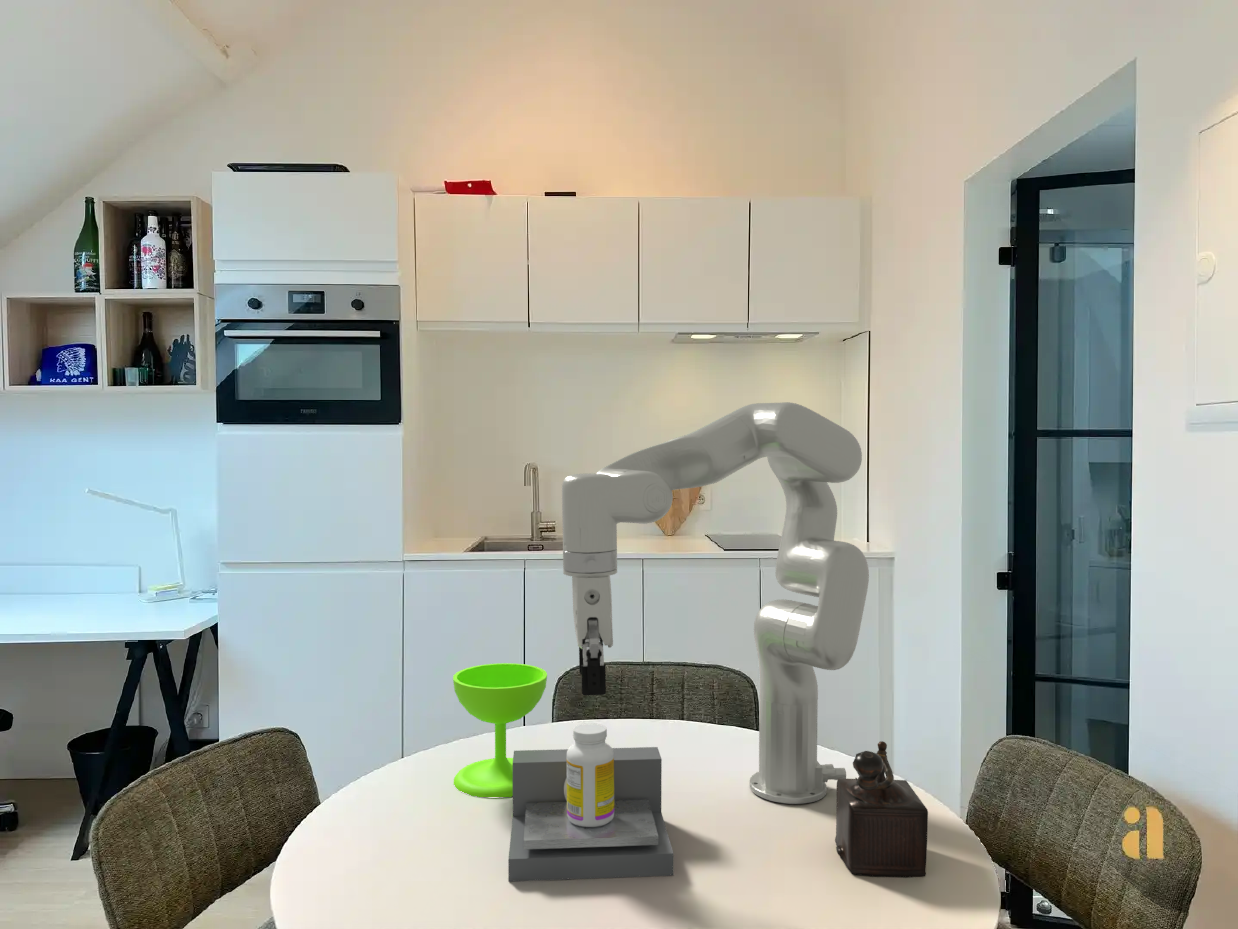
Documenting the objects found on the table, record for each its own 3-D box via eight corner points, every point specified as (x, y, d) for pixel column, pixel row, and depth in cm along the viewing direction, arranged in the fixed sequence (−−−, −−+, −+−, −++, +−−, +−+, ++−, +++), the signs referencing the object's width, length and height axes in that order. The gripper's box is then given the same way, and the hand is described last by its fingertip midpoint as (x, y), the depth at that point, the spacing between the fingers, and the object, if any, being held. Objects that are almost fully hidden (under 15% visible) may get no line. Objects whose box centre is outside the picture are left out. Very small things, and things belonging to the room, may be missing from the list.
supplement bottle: (616, 809, 127) (616, 721, 126) (611, 830, 120) (611, 737, 120) (570, 807, 127) (570, 719, 127) (563, 828, 121) (563, 735, 120)
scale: (657, 817, 136) (657, 747, 136) (673, 875, 118) (673, 794, 118) (514, 822, 135) (513, 750, 134) (508, 881, 117) (508, 799, 116)
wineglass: (475, 806, 140) (475, 694, 140) (439, 773, 154) (438, 671, 153) (563, 785, 149) (563, 679, 148) (522, 756, 162) (522, 659, 162)
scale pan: (648, 807, 130) (648, 799, 130) (658, 844, 118) (658, 836, 118) (526, 811, 129) (526, 803, 129) (523, 849, 117) (523, 840, 117)
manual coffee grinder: (829, 840, 129) (830, 718, 128) (906, 842, 128) (907, 719, 128) (854, 896, 113) (855, 757, 113) (941, 898, 113) (943, 759, 112)
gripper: (622, 572, 114) (624, 702, 115) (612, 552, 131) (614, 666, 132) (564, 573, 114) (566, 704, 114) (562, 554, 131) (564, 668, 132)
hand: (592, 683), depth 123 cm, fingers open, 9 cm apart
